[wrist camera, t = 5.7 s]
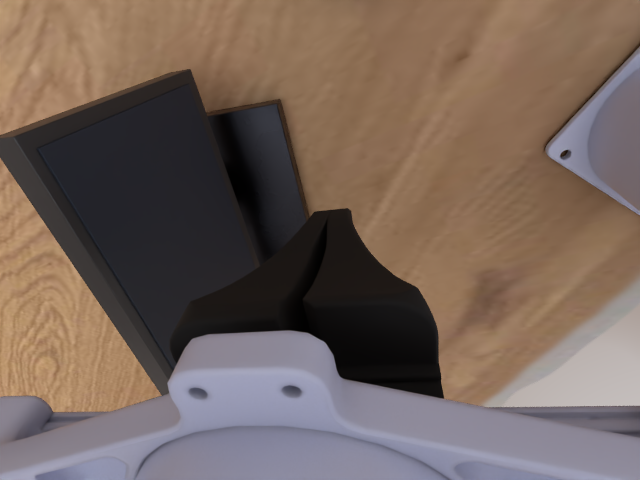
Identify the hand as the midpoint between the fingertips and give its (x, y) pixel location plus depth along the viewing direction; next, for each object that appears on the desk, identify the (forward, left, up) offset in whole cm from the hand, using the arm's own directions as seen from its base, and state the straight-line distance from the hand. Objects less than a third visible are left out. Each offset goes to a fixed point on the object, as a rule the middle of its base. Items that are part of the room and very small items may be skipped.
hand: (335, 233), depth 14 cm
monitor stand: (+4, +6, -9) cm, 11 cm away
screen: (+4, +6, -6) cm, 9 cm away
